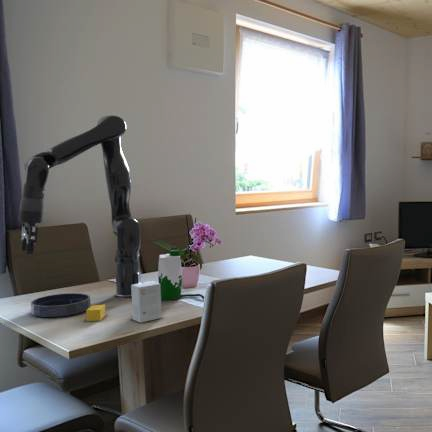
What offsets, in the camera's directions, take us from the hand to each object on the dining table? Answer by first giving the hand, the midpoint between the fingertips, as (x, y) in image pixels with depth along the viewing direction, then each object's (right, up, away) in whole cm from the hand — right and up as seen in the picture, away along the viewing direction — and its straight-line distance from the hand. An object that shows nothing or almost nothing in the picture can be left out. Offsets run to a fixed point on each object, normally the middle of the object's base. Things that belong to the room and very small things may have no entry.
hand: (26, 252), depth 207 cm
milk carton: (+45, -21, +23) cm, 55 cm away
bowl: (+12, -22, +1) cm, 26 cm away
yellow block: (+30, -24, -7) cm, 39 cm away
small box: (+48, -24, -7) cm, 54 cm away
